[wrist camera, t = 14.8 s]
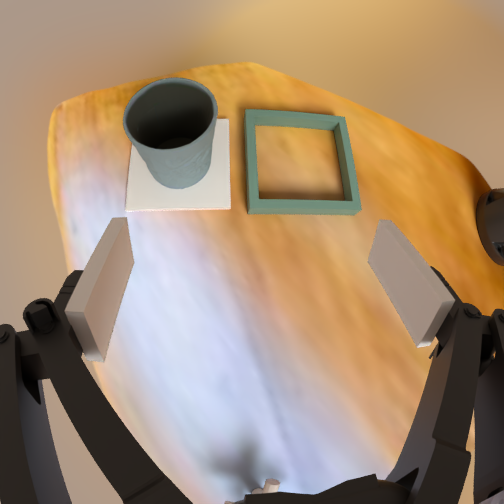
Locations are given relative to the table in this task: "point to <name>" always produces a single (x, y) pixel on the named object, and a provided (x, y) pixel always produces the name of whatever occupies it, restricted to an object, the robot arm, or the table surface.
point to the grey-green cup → (173, 130)
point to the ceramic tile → (192, 198)
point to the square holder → (300, 206)
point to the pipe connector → (269, 487)
